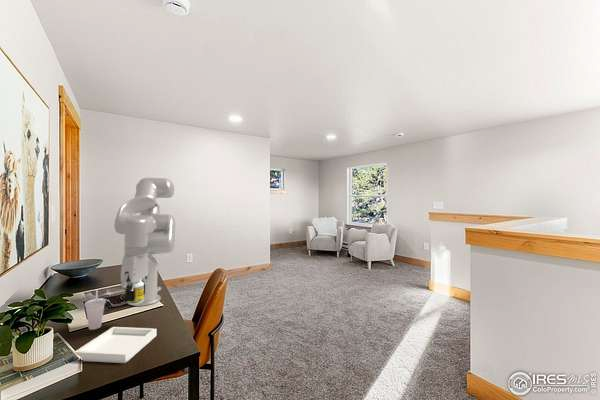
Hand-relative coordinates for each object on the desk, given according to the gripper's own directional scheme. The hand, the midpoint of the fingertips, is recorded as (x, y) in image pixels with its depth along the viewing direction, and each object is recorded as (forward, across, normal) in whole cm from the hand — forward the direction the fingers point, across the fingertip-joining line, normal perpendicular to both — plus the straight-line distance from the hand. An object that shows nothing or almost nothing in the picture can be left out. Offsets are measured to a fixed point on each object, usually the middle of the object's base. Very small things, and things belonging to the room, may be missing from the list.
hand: (135, 296), depth 104 cm
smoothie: (+11, +3, -13) cm, 18 cm away
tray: (+10, +15, +5) cm, 19 cm away
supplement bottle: (+2, 0, 0) cm, 2 cm away
